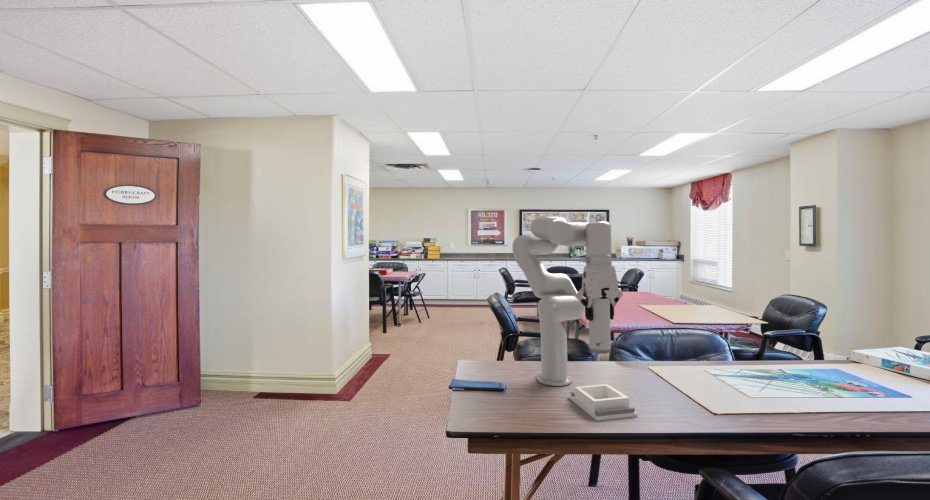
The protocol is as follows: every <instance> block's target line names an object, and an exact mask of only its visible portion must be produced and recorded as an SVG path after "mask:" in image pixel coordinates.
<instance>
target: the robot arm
mask: <svg viewBox="0 0 930 500" xmlns="http://www.w3.org/2000/svg"><path fill="white" fill-rule="evenodd" d="M530 232H531V233H530V234H522V235H519V236H516V238H514V239H513V242H512V255H513V257H514V258H513V259H514V260H515V262H516V263H517V266H518V267H519V268H520V269H521V271H522V272H523V274H524V276H525V278H526V280H527V283H528V285H529V287H530V289H531V291H532V293H533V295H534V296H535V297H536V298H538V299H540V300H538V303H537V314H538V320H539V328H540V329H539V330H540V358H541V359H540V362H541V363H540V365H541V366H540V367H541V369H540V370H541V371H540V372H541V373H539V374H538V375H537V377H536V379H537V382H539V383H540V384H543V385H545V386H552V387H563V386H567V385H570V384H572V382H573V378H572V376H570V375H568V339H567V338H568V335H567V330H566V328H565V327H564V325H563V324H562V322H565V321H573V320H580V319H581V318H582V317H583V315H584V316H585V319H586V320H587V321H589V320H590V321H592V320H593V308H591V305H592V302H593V299H599V298H601V297H603V296H601V293H602V291H601V290H602V289H604V288H609V290H604V291H605V293H606V294H607V295H606V296H605V297H607V298H610V321H611V320H614V317H615V307H616V305H617V304H618V302H619V301H620V299H621V298H622V297H623V296H624V293H623V291H621V290H620V289H619V286H618V285H619V283H618V276H617V272H616V268H615V265H613V264H612V225H611V223H610V222H608V221H590V222H568V221H567V220H566V218H564V217H561V216H539V217H536V218H534V219H533V220H532V221H531V223H530ZM559 246H564V247H565V246H567V247H573V246H578V247H579V246H580V247H581V246H584V247H585V257H583V258H582V261H581V262H582V263H585V265H584V267H583V271H582V278H581V279H582V280H581V281H582V282H581V288H580V289H579V291H578V290H577V288H576V286H575V284H574V283H573V281H572V279H571V278H570V276H568V275H567V274H565V273H561V272H560V273H559V272H558V273H557V272H556V273H550V272H549V271H547V269H546V267H545V265H544V264H543V263H542V261H540V260H539V259H538V258H537V257H536V256H540V255H541V256H543V255H544V256H546V255H551V254H553V253H554V252H555V251H556V249H557V248H558V247H559ZM600 289H601V290H600Z"/></svg>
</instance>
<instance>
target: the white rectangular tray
mask: <svg viewBox="0 0 930 500" xmlns="http://www.w3.org/2000/svg"><path fill="white" fill-rule="evenodd" d="M568 399H569V400H571V401H572V402H573V403H574V404H576V405H577V406H578V407H579V408H580V409H582V411H584V412H585V413H587V415H589V416H590V417H592V418H593V419H594V420H595V421H597V422H598V421H609V420H616V419H617V420H618V419H625V418H626V419H627V418H634V417H638V416H639V415H638V412H637V411H636V409H635V407H633V406H630V397H629V396H627V395H625V394H624V393H622V392H620V391H619V390H618V389H616V388H614V387H613V386H611V385H609V384H607V383H603V384H602V383H601V384H594V385H593V384H592V385H582V386H574V391H570V394H568Z"/></svg>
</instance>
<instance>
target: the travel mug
mask: <svg viewBox="0 0 930 500" xmlns="http://www.w3.org/2000/svg"><path fill="white" fill-rule="evenodd" d="M600 290H601V289H600ZM604 290H609V288H604V289H602V290H601V291H602V293H601V296H603V297H601V298H599V299H593V302H592V305H591V308H593V320H592V321H590V320H588V339H589V340H588V343H589V344H588V345H589V351H590V352H591V353H593V354H601V355H602V354H603V355H604V354H605V355H606V354H610V352H612V351H611V348H612V347H611V319H610V298H607V297H605V296H606V295H607V294H606V293H605V291H604Z"/></svg>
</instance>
